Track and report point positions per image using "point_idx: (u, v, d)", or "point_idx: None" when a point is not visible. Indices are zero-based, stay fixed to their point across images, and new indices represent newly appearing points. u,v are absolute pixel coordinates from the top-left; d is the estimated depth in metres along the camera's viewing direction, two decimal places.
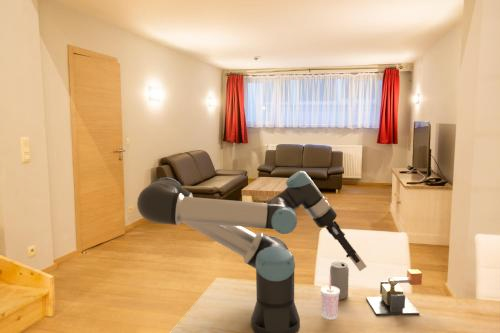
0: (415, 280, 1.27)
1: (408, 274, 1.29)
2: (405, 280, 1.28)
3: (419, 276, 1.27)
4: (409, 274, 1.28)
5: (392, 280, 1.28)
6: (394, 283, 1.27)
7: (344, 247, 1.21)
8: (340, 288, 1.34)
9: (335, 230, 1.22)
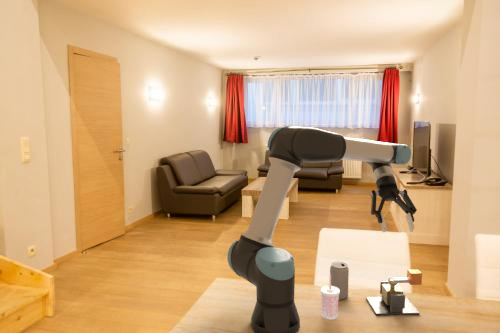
0: (415, 280, 1.27)
1: (408, 274, 1.29)
2: (405, 280, 1.28)
3: (419, 276, 1.27)
4: (409, 274, 1.28)
5: (392, 280, 1.28)
6: (394, 283, 1.27)
7: None
8: (340, 288, 1.34)
9: None
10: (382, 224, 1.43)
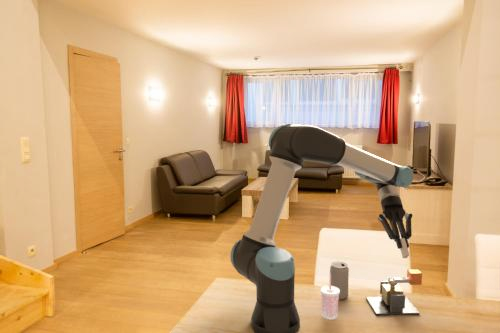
0: (415, 280, 1.27)
1: (408, 274, 1.29)
2: (405, 280, 1.28)
3: (419, 276, 1.27)
4: (409, 274, 1.28)
5: (392, 280, 1.28)
6: (394, 283, 1.27)
7: None
8: (340, 288, 1.34)
9: None
10: (402, 250, 1.38)
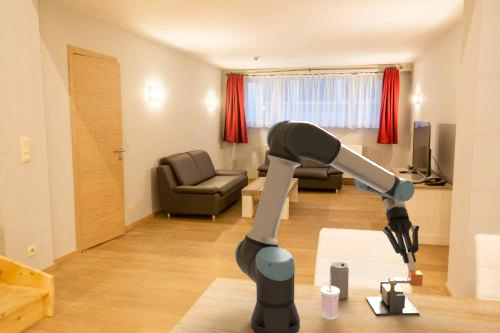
0: (415, 281, 1.26)
1: (409, 275, 1.28)
2: (406, 280, 1.27)
3: (419, 278, 1.26)
4: (410, 275, 1.27)
5: (392, 280, 1.28)
6: (394, 283, 1.27)
7: None
8: (340, 288, 1.34)
9: (418, 229, 1.39)
10: (408, 265, 1.32)
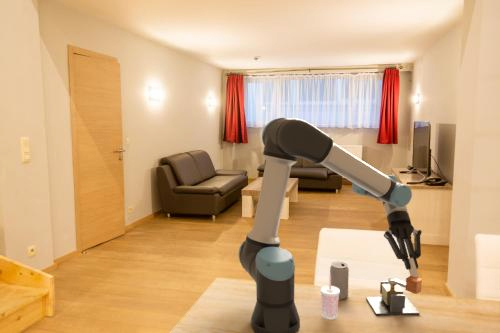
0: (410, 287, 1.22)
1: None
2: (402, 284, 1.25)
3: (414, 285, 1.21)
4: None
5: (391, 280, 1.28)
6: (390, 282, 1.28)
7: None
8: (340, 288, 1.34)
9: None
10: (410, 271, 1.27)
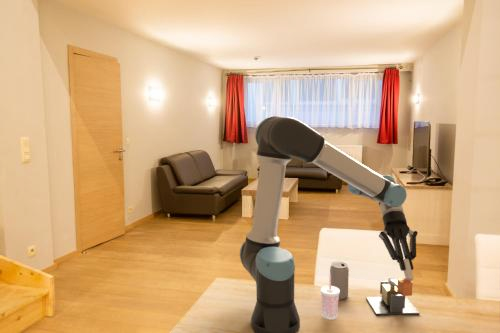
0: (399, 288, 1.21)
1: None
2: (396, 284, 1.24)
3: (402, 286, 1.20)
4: None
5: (391, 279, 1.29)
6: (388, 282, 1.28)
7: None
8: (340, 288, 1.34)
9: None
10: (405, 272, 1.24)
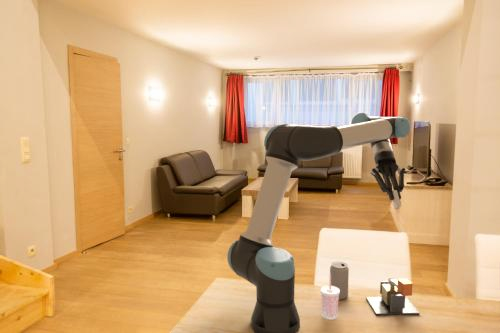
0: (399, 288, 1.21)
1: None
2: (396, 284, 1.24)
3: (401, 286, 1.20)
4: None
5: (391, 279, 1.29)
6: (388, 282, 1.28)
7: None
8: (340, 288, 1.34)
9: (404, 171, 1.48)
10: (394, 201, 1.40)
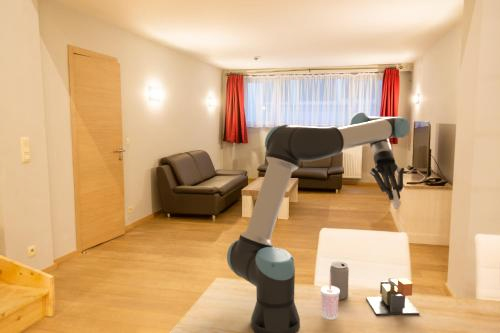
0: (399, 288, 1.21)
1: None
2: (396, 284, 1.24)
3: (401, 286, 1.20)
4: None
5: (391, 279, 1.29)
6: (388, 282, 1.28)
7: None
8: (340, 288, 1.34)
9: (403, 171, 1.49)
10: (393, 201, 1.41)
